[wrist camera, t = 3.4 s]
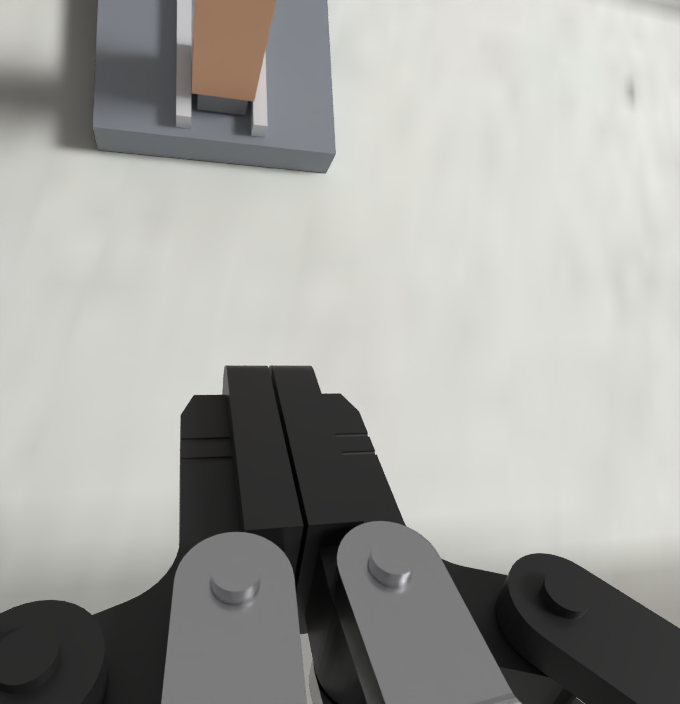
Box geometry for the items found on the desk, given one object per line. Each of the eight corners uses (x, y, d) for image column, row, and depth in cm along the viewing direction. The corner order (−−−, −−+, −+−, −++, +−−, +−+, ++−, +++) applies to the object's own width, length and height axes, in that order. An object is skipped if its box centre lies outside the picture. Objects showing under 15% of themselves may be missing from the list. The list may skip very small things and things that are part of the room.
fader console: (98, 150, 29) (89, 114, 26) (108, -106, 32) (101, -163, 29) (326, 172, 32) (340, 143, 29) (314, -61, 35) (326, -108, 33)
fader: (176, 106, 28) (177, -75, 19) (176, 54, 29) (178, -147, 19) (264, 117, 29) (306, -48, 20) (263, 67, 30) (303, -116, 21)
